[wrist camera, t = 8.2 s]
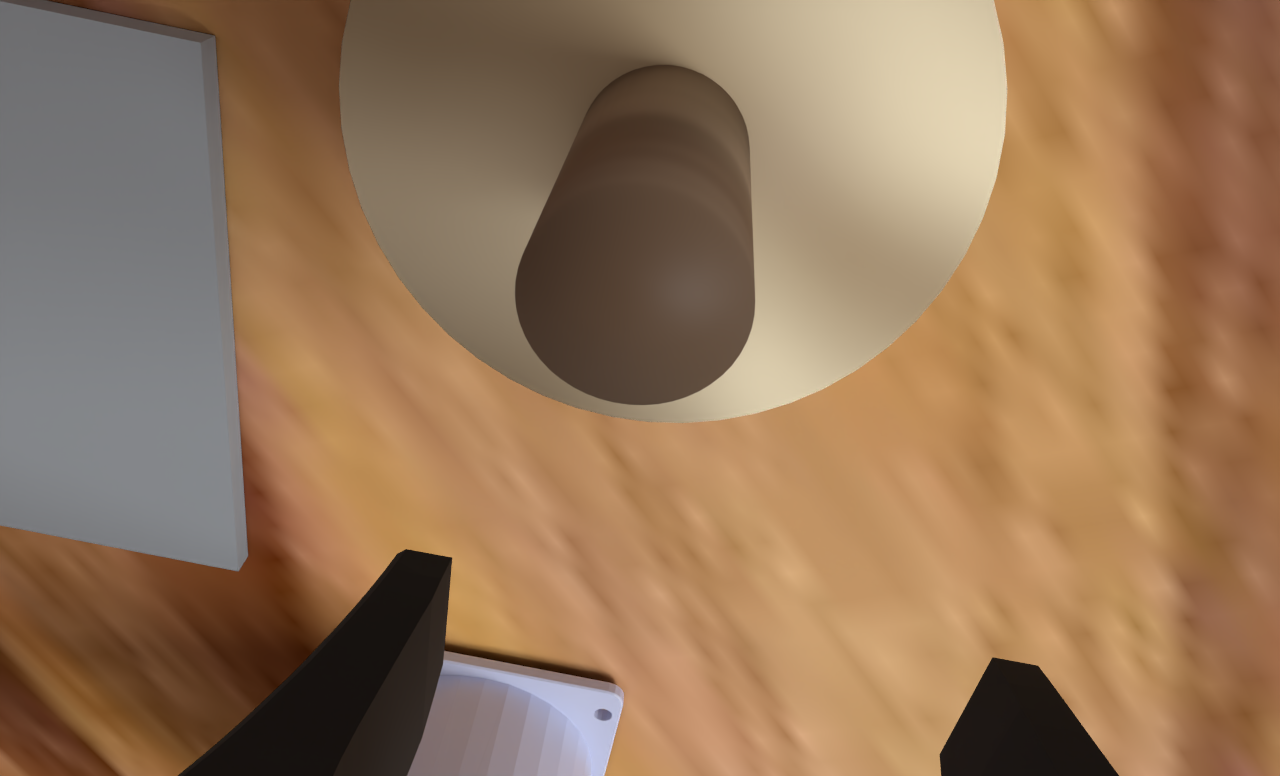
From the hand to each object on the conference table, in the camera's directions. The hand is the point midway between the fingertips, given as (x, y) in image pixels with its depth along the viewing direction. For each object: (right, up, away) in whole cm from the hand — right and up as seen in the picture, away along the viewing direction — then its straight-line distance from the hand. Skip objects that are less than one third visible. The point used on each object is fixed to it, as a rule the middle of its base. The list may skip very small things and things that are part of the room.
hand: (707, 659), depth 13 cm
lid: (0, +8, +3) cm, 8 cm away
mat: (-16, +6, +10) cm, 20 cm away
